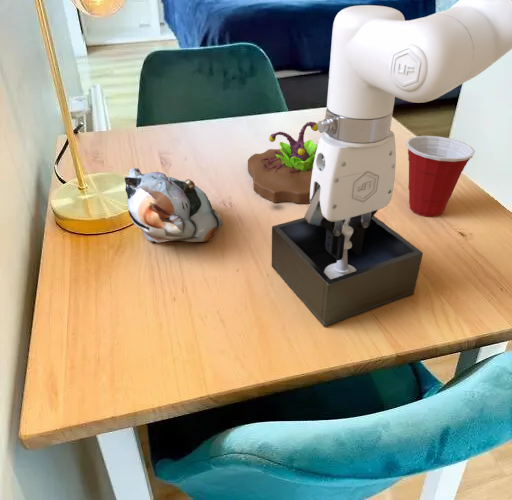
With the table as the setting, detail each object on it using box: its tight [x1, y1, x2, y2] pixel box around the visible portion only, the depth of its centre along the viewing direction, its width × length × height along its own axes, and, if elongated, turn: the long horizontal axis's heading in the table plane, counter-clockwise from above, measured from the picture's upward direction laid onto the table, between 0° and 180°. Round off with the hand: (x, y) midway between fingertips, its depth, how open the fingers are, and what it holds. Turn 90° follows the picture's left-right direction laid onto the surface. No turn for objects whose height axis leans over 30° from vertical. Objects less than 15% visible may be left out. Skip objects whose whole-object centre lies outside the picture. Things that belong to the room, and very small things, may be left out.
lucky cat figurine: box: [124, 167, 223, 244], centre depth 79 cm, size 15×12×14 cm
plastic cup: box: [405, 135, 476, 218], centre depth 86 cm, size 11×11×12 cm
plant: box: [247, 121, 319, 204], centre depth 95 cm, size 20×20×11 cm
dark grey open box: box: [271, 212, 424, 328], centre depth 71 cm, size 15×15×7 cm
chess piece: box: [324, 218, 357, 279], centre depth 69 cm, size 5×5×10 cm
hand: (343, 250), depth 70 cm, fingers closed
